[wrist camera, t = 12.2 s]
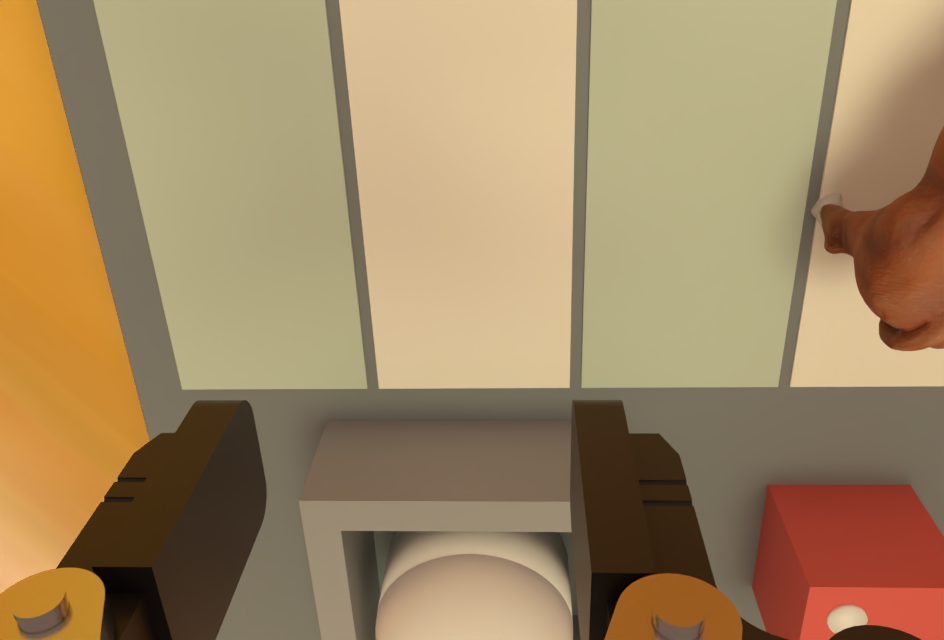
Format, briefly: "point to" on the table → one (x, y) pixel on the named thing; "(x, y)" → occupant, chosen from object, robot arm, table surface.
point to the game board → (524, 274)
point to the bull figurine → (897, 257)
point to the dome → (475, 587)
